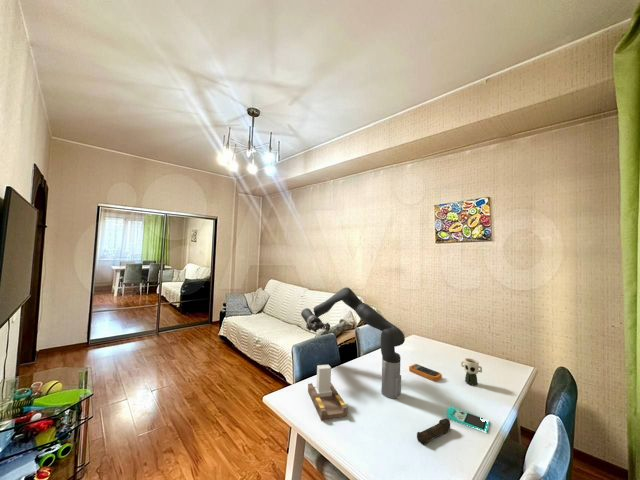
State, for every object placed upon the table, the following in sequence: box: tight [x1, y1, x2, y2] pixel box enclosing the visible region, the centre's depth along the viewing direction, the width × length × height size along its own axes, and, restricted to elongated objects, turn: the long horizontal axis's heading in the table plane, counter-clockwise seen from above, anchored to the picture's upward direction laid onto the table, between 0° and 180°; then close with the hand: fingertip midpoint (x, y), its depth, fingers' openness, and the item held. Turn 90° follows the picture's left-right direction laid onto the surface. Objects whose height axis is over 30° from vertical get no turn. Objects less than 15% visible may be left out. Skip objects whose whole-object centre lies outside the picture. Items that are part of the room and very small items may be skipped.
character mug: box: [460, 357, 483, 386], centre depth 150 cm, size 11×7×13 cm, turn 43°
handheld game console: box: [446, 406, 490, 433], centre depth 116 cm, size 10×16×1 cm, turn 51°
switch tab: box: [314, 364, 332, 397], centre depth 130 cm, size 6×7×13 cm
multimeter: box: [408, 363, 443, 383], centre depth 159 cm, size 9×18×3 cm, turn 39°
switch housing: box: [307, 382, 349, 422], centre depth 124 cm, size 24×12×4 cm, turn 16°
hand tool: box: [416, 417, 451, 446], centre depth 105 cm, size 19×4×5 cm, turn 119°
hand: (322, 330), depth 147 cm, fingers open, 6 cm apart
